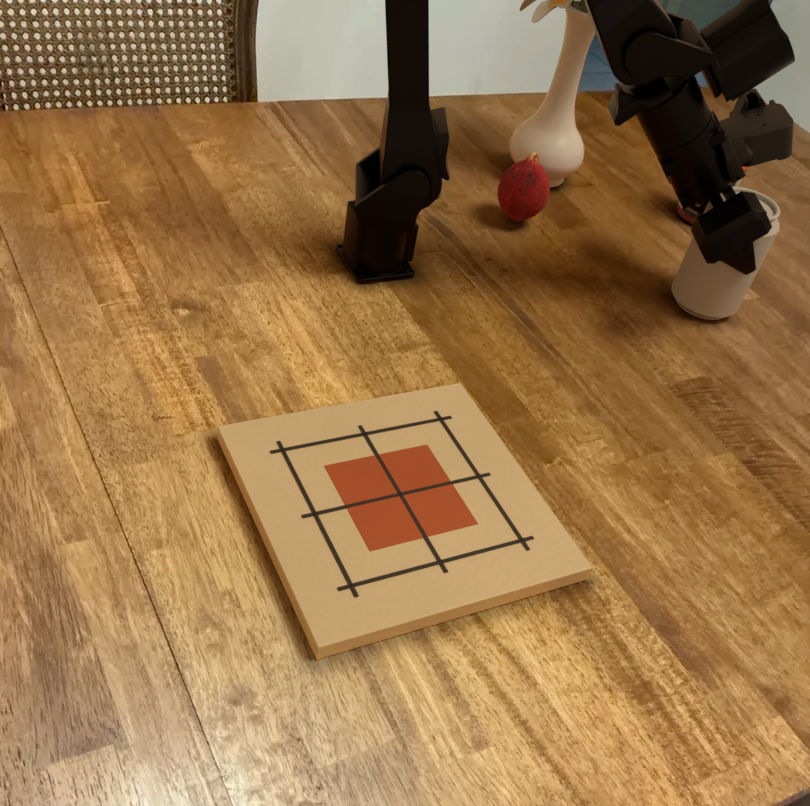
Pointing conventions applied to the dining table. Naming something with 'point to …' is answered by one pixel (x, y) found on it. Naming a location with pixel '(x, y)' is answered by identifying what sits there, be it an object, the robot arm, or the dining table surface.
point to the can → (720, 273)
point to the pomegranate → (524, 189)
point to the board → (395, 515)
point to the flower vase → (558, 99)
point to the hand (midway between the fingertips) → (740, 251)
